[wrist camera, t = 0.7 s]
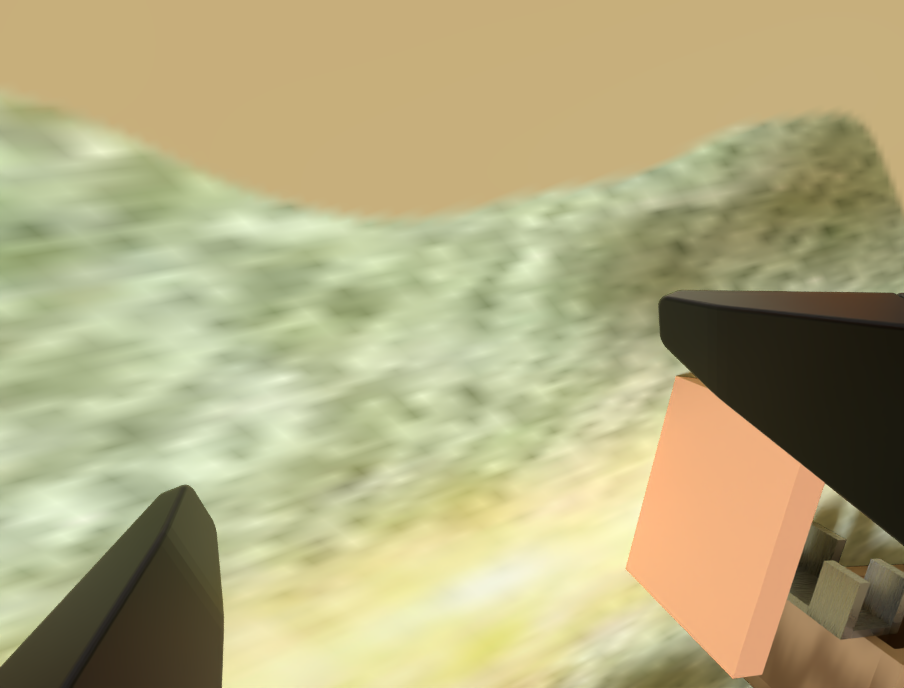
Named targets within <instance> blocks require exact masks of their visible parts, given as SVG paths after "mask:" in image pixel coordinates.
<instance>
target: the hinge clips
mask: <svg viewBox="0 0 904 688" xmlns="http://www.w3.org/2000/svg"><path fill="white" fill-rule="evenodd" d="M845 542H846V539H844V538H842V537H841V536H839V535H837V534H835V533H834V532H832V531H830V530H828V529H827V528H825V527H823V526H821V525H820V524H818V523H812V524H811V527H810V530H809V533H808V536H807V539H806V542H805V545H804V548H803V551H802V554H801V557H800V560H799V563H798V566H797V569H796V573H795V576H794V579H793V582H792V585H791V588H790V591H789V594H788V597H787V600H788V601H790V602H791V603H792V604H794V605H795V606H796V607H798V608H799V609H800V610H802V611H803V612H804V613H806V614H807V615H808V616H810V617H811V618H812V619H814V620H815V621H816V622H817V623H819V624H820V625H821V626H823V627H824V628H825V629H827V630H828V631H829V632H831V633H832V634H833V635H835V636H836V637H837V638H839V639H840V640H843V639H852V638H861V637H870V636H878V635H887V634H896V633H898V630H899V627H900V625H901V622H902V619H903V617H904V572H902V571H901V570H899V569H897V568H895V567H894V566H892V565H890V564H888V563H887V562H885V561H883V560H881V559H871V560H870V563H869V566H868V569H867V571H866V574H865V577H864V579H863V578H862V577H860V576H858V575H857V574H855V573H853V572H852V571H850V570H849V569H847V568H845V567H844V566H842V565H841V564H839V560H840V557H841V554H842V551H843V548H844V545H845Z"/></svg>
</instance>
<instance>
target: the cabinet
mask: <svg viewBox="0 0 904 688" xmlns="http://www.w3.org/2000/svg"><path fill="white" fill-rule="evenodd" d="M892 566H894V567H895V568H897V569H899V570H901V571H902V572H904V564H898V565H892ZM845 568H847V569H849V570H850V571H852V572H853V573H855V574H857V575H858V576H860V577H862V578H863V579H864V577H865V574H866V571H867V569H868V566H854V567H845ZM743 678H744V679H745V680H746V681H747V682H748V683H749V684H750V685H751V686H752V687H753V688H904V617H903V619H902V622H901V625H900V627H899V630H898V633H896V634H887V635H878V636H870V637H861V638H852V639H843V640H840V639H839V638H837V637H836V636H835V635H833V634H832V633H831V632H829V631H828V630H827V629H825V628H824V627H823V626H821V625H820V624H819V623H817V622H816V621H815V620H814V619H812V618H811V617H810V616H808V615H807V614H806V613H804V612H803V611H802V610H800V609H799V608H798V607H796V606H795V605H794V604H792V603H791V602H790V601H788V600H786V603H785V606H784V609H783V612H782V615H781V618H780V621H779V625H778V628H777V631H776V634H775V637H774V640H773V643H772V646H771V649H770V652H769V655H768V658H767V661H766V664H765V667H764V670H763V673H762V675H756V676H749V677H743Z"/></svg>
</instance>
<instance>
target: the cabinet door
mask: <svg viewBox="0 0 904 688" xmlns="http://www.w3.org/2000/svg"><path fill="white" fill-rule="evenodd" d="M824 484H825V483H824V482H823V481H822V480H820V479H819V478H818V477H817V476H815V475H814V474H813V473H812V472H810V471H809V470H808V469H807V468H805V467H804V466H803V465H802V464H800V463H799V462H798V461H797V460H795V459H794V458H793V457H792V456H790V455H789V454H788V453H787V452H785V451H784V450H783V449H782V448H780V447H779V446H778V445H776V444H775V443H774V442H773V441H771V440H770V439H769V438H768V437H766V436H765V435H764V434H763V433H761V432H760V431H759V430H758V429H756V428H755V427H754V426H753V425H751V424H750V423H749V422H748V421H746V420H745V419H744V418H743V417H741V416H740V415H739V414H738V413H736V412H735V411H734V410H733V409H731V408H730V407H729V406H727V405H726V404H725V403H724V402H723V401H721V400H720V399H719V398H718V397H717V396H716V395H715V394H713V393H712V392H711V391H710V390H709V389H708V388H707V387H706V386H705V385H704V384H703V383H702V382H701V381H700V380H699V379H698V378H690V377H681V376H676V378H675V382H674V386H673V389H672V393H671V397H670V401H669V405H668V408H667V412H666V416H665V420H664V424H663V428H662V431H661V435H660V439H659V443H658V447H657V451H656V454H655V458H654V462H653V466H652V470H651V473H650V477H649V481H648V485H647V489H646V493H645V496H644V500H643V504H642V508H641V512H640V516H639V519H638V523H637V527H636V531H635V535H634V538H633V542H632V546H631V550H630V554H629V558H628V561H627V565H626V570H627V571H628V572H629V573H630V574H631V575H632V576H633V577H634V578H635V579H636V580H637V581H638V582H639V583H640V584H641V585H642V586H643V587H644V588H645V589H646V590H647V591H648V592H649V594H650V595H651V596H652V597H653V598H654V599H655V600H656V601H657V602H658V603H659V604H660V605H661V606H662V607H663V608H664V609H665V610H666V611H667V612H668V613H669V614H670V615H671V616H672V617H673V618H674V619H675V620H676V621H677V622H678V623H679V624H680V625H681V626H682V627H683V628H684V629H685V630H686V631H687V632H688V633H689V634H690V635H691V637H692V638H693V639H694V640H695V641H696V642H697V643H698V644H699V645H700V646H701V647H702V648H703V649H704V650H705V651H706V652H707V653H708V654H709V655H710V656H711V657H712V658H713V659H714V660H715V661H716V662H717V663H718V664H719V665H720V666H721V667H722V668H723V669H724V670H725V671H726V672H727V673H728V674H729V675H730V676H731V677H732V679H734V678H741V677H749V676H756V675H762V673H763V670H764V667H765V664H766V661H767V658H768V655H769V652H770V649H771V646H772V643H773V640H774V637H775V634H776V631H777V628H778V625H779V621H780V618H781V615H782V612H783V609H784V606H785V603H786V600H787V597H788V594H789V591H790V588H791V585H792V582H793V579H794V576H795V573H796V569H797V566H798V563H799V560H800V557H801V554H802V551H803V548H804V545H805V542H806V539H807V536H808V533H809V530H810V527H811V524H812V521H813V517H814V514H815V511H816V508H817V505H818V502H819V499H820V496H821V493H822V490H823V487H824Z"/></svg>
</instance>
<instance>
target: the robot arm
mask: <svg viewBox="0 0 904 688" xmlns="http://www.w3.org/2000/svg"><path fill="white" fill-rule="evenodd" d="M658 307H659V326H660V337H661V340H662V342H663V344H664V345H665V347H666V348H667V349H668V350H669V351H670V352H671V353H672V354H673V355H674V356H675V357H676V358H677V359H678V360H679V361H680V362H681V363H682V364H683V365H684V366H686V367H687V368H688V369H689V370H690V371H691V372H692V373H693V374H694V375H695V376H696V377H697V378H698V379H699V380H700V381H701V382H702V383H703V384H704V385H705V386H706V387H707V388H708V389H709V390H710V391H711V392H712V393H713V394H715V395H716V396H717V397H718V398H719V399H720V400H721V401H723V402H724V403H725V404H726V405H727V406H729V407H730V408H731V409H733V410H734V411H735V412H736V413H738V414H739V415H740V416H741V417H743V418H744V419H745V420H746V421H748V422H749V423H750V424H751V425H753V426H754V427H755V428H756V429H758V430H759V431H760V432H761V433H763V434H764V435H765V436H766V437H768V438H769V439H770V440H771V441H773V442H774V443H775V444H776V445H778V446H779V447H780V448H782V449H783V450H784V451H785V452H787V453H788V454H789V455H790V456H792V457H793V458H794V459H795V460H797V461H798V462H799V463H800V464H802V465H803V466H804V467H805V468H807V469H808V470H809V471H810V472H812V473H813V474H814V475H815V476H817V477H818V478H819V479H820V480H822V481H823V482H824V483H825V484H827V485H828V486H829V487H830V488H832V489H833V490H834V491H836V492H837V493H838V494H839V495H841V496H842V497H843V498H844V499H846V500H847V501H848V502H849V503H851V504H852V505H853V506H854V507H856V508H857V509H858V510H859V511H861V512H862V513H863V514H864V515H866V516H867V517H868V518H869V519H871V520H872V521H873V522H874V523H876V524H877V525H878V526H879V527H881V528H882V529H883V530H885V531H886V532H887V533H888V534H890V535H891V536H892V537H893V538H895V539H896V540H897V541H898V542H900V543H901V544H902V545H903V546H904V293H899V294H895V293H866V292H791V291H715V290H679V291H676V292H673V293H670V294H668V295H665V296H663V297H662V298H661V299H660V301H659V306H658ZM223 642H224V610H223V597H222V586H221V575H220V564H219V553H218V542H217V532H216V528H215V525H214V522H213V520H212V518H211V517H210V515H209V513H208V512H207V510H206V508H205V507H204V505H203V504H202V502H201V500H200V499H199V497H198V496H197V494H196V492H195V491H194V489H193V488H192V487H190V486H189V485H181V486H179V487H176V488H174V489H171V490H169V491H166V492H164V493H162V494H160V495H159V496H158V497H157V498H156V499H155V500H154V502H153V503H152V504H151V505H150V506H149V507H148V508H147V509H146V510H145V511H144V512H143V513H142V515H141V516H140V517H139V518H138V519H137V520H136V521H135V522H134V523H133V524H132V525H131V526H130V528H129V529H128V530H127V531H126V532H125V533H124V534H123V535H122V536H121V537H120V538H119V539H118V540H117V542H116V543H115V544H114V545H113V546H112V547H111V548H110V549H109V550H108V551H107V552H106V553H105V555H104V556H103V557H102V558H101V559H100V560H99V561H98V562H97V563H96V564H95V565H94V566H93V567H92V569H91V570H90V571H89V572H88V573H87V574H86V575H85V576H84V577H83V578H82V579H81V580H80V582H79V583H78V584H77V585H76V586H75V587H74V588H73V589H72V590H71V591H70V592H69V593H68V595H67V596H66V597H65V598H64V599H63V600H62V601H61V602H60V603H59V604H58V605H57V606H56V607H55V609H54V610H53V611H52V612H51V613H50V614H49V615H48V616H47V617H46V618H45V619H44V620H43V622H42V623H41V624H40V625H39V626H38V627H37V628H36V629H35V630H34V631H33V632H32V633H31V634H30V636H29V637H28V638H27V639H26V640H25V641H24V642H23V643H22V644H21V645H20V646H19V647H18V649H17V650H16V651H15V652H14V653H13V654H12V655H11V656H10V657H9V658H8V659H7V660H6V662H5V663H4V664H3V665H2V666H1V667H0V688H222V669H223Z"/></svg>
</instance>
